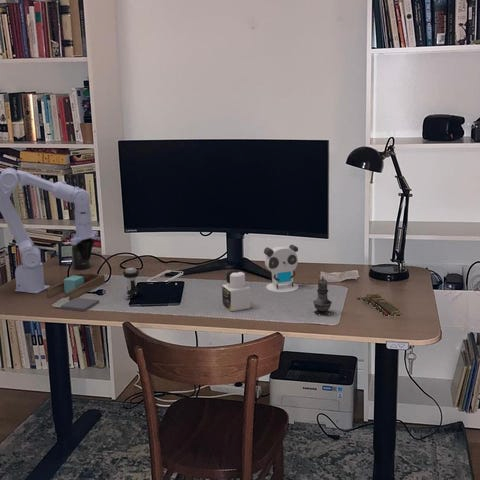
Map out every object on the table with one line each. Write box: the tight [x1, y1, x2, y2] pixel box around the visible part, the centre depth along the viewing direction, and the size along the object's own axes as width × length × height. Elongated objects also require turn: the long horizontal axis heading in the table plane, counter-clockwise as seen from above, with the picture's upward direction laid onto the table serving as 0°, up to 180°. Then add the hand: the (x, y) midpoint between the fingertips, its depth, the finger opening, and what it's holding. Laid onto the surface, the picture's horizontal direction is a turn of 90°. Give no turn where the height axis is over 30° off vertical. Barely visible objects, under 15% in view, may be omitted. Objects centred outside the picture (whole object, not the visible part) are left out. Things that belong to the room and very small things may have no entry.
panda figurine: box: [263, 244, 299, 294], centre depth 235 cm, size 12×11×15 cm
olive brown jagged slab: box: [356, 293, 402, 316], centre depth 215 cm, size 22×9×2 cm, turn 12°
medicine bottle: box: [221, 269, 251, 312], centre depth 216 cm, size 7×7×12 cm
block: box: [63, 275, 85, 294], centre depth 236 cm, size 4×6×5 cm
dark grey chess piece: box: [313, 276, 333, 316], centre depth 209 cm, size 6×6×12 cm
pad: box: [60, 297, 100, 312], centre depth 221 cm, size 9×9×1 cm
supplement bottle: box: [71, 245, 91, 271], centre depth 265 cm, size 7×7×12 cm
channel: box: [46, 272, 106, 301], centre depth 238 cm, size 10×21×3 cm, turn 159°
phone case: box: [146, 269, 184, 283], centre depth 250 cm, size 7×1×15 cm
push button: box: [122, 267, 140, 300], centre depth 227 cm, size 7×5×10 cm
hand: (86, 259), depth 242 cm, fingers closed
